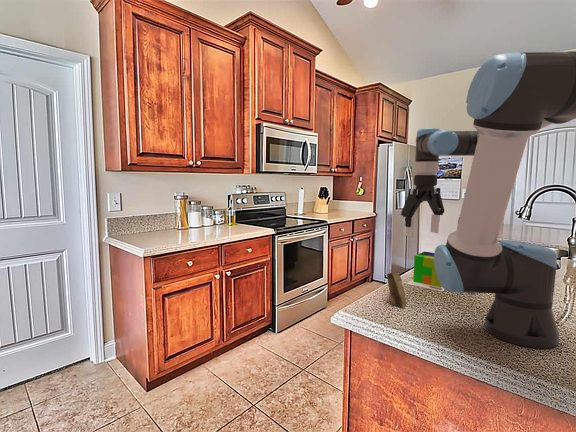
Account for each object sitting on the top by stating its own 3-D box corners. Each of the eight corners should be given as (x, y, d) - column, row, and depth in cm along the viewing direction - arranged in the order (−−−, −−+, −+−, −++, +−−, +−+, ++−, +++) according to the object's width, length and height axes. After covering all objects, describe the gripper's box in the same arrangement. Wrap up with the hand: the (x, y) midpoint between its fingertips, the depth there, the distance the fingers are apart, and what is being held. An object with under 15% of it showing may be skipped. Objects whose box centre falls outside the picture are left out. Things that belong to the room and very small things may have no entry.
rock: (389, 285, 112) (373, 287, 105) (405, 269, 108) (389, 270, 101) (410, 311, 105) (394, 316, 99) (429, 295, 101) (413, 298, 95)
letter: (443, 291, 112) (443, 291, 112) (405, 283, 121) (405, 283, 121) (456, 279, 126) (456, 279, 126) (421, 273, 134) (422, 273, 134)
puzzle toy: (449, 281, 124) (451, 255, 122) (440, 287, 116) (442, 260, 115) (423, 275, 130) (424, 251, 129) (413, 281, 123) (414, 255, 122)
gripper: (439, 174, 122) (435, 229, 125) (392, 174, 110) (389, 235, 113) (457, 174, 116) (453, 232, 119) (410, 174, 103) (406, 239, 106)
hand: (422, 234), depth 116 cm, fingers open, 13 cm apart
